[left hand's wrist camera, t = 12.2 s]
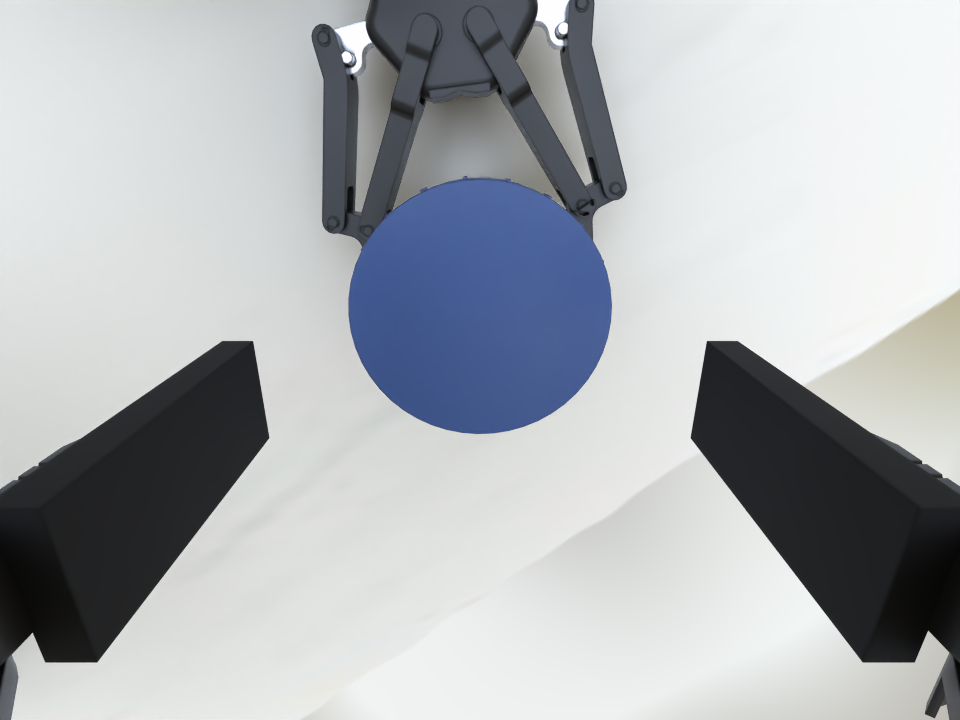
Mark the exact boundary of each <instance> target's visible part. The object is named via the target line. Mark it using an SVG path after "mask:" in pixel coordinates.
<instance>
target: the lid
mask: <svg viewBox="0 0 960 720" xmlns="http://www.w3.org/2000/svg"><path fill="white" fill-rule="evenodd" d="M510 181H511V180H510V179H508V178H506V180H501V179H493V178H467V176H464V177H463V179H460V180H455V181H449V182H446V183H443V184H440V185H437V186H434V187H432V188H430V189H428V188H427V187H426V188H424V189H422V190H420V191H421V193H420V194H418V195H416V196H414V197H412V198H410V199H409V200H407V201H406V202H404V203H403V204H402V205H400V206H399V207H397V208H396V209H395V210H393V211H391V212H390V213H388V214H386V215H385V216H386V218H385V219H384V220H383V221H382V222H381V223H380V225H379V226H378V227H377V228H376V229H375V231H374V232H373V233H372V234H371V236H370V238H369V239H368V241H367V242H366V244H365V246H364V247H363V248H362V249H361V253H360V256H359V258H358V260H357V263H356V265H355V268H354V272H353V276H352V279H351V284H350V292H349V321H350V329H351V334H352V337H353V341H354V344H355V348H356V350H357V353H358V355H359V357H360V360H361V362H362V364H363V365H364V367H365V369H366V371H367V372H368V374H369V376H370V377H371V378H372V380H373V381H374V382H375V384H376V385H377V386H378V387H379V389H380V390H381V391H382V392H383V393H384V394H385V395H386V396H387V397H388V398H389V399H390V400H391V401H392V402H394V403H395V404H396V405H398V406H399V407H400V408H401V409H403V410H404V411H406V412H407V413H409V414H411V415H412V416H414V417H416V418H417V419H420V420H422V421H424V422H426V423H428V424H431V425H433V426H436V427H440V428H443V429H446V430H451V431H456V432H461V433H473V434H487V433H498V432H504V431H510V430H514V429H517V428H521V427H524V426H527V425H529V424H532V423H534V422H536V421H539V420H541V419H542V418H544V417H546V416H548V415H550V414H551V413H553V412H554V411H556V410H557V409H559V408H560V407H561V406H563V405H564V404H565V403H566V402H568V401H569V400H570V399H571V398H572V397H573V396H574V395H575V394H576V393H577V392H578V391H579V390H580V388H581V387H582V386H583V385H584V384H585V383H586V381H587V380H588V378H589V377H590V375H591V374H592V372H593V371H594V369H595V368H596V366H597V364H598V362H599V360H600V357H601V355H602V353H603V351H604V347H605V344H606V341H607V338H608V334H609V329H610V323H611V310H612V301H611V290H610V284H609V279H608V275H607V271H606V268H605V265H604V261H603V259H602V258H601V255H600V253H599V251H598V249H597V247H596V246H595V244H594V242H593V240H592V239H591V237H590V236H589V235H588V233H587V232H586V231H585V229H584V228H583V226H584V225H583V224H582V223H580V222H578V221H577V220H576V219H575V218H574V217H573V216H572V215H571V214H570V213H569V212H568V211H566V210H565V209H564V208H563V207H561V206H560V205H559V204H557V203H556V202H555V201H553V200H551V196H549V195H547V194H545V193H544V195H542V194H541V193H539V192H537V191H535V190H533V189H530V188H528V187H525V186H523V185H520V184H518V183H514V182H510Z"/></svg>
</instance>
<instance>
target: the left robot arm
mask: <svg viewBox="0 0 960 720" xmlns="http://www.w3.org/2000/svg"><path fill="white" fill-rule="evenodd" d="M268 439H269V433H268V427H267V421H266V415H265V409H264V403H263V397H262V392H261V386H260V380H259V374H258V368H257V362H256V356H255V350H254V344H253V341H222V342H220V343H219V344H218V345H216V346H215V347H213V348H212V349H210V350H209V351H207V352H206V353H204V354H203V355H202V356H200V357H199V358H197V359H196V360H194V361H193V362H191V363H190V364H189V365H187V366H186V367H184V368H183V369H181V370H180V371H178V372H177V373H175V374H174V375H173V376H171V377H170V378H168V379H167V380H165V381H164V382H162V383H161V384H160V385H158V386H157V387H155V388H154V389H152V390H151V391H149V392H148V393H146V394H145V395H144V396H142V397H141V398H139V399H138V400H136V401H135V402H133V403H132V404H131V405H129V406H128V407H126V408H125V409H123V410H122V411H120V412H119V413H117V414H116V415H115V416H113V417H112V418H110V419H109V420H107V421H106V422H104V423H103V424H101V425H100V426H99V427H97V428H96V429H94V430H93V431H91V432H90V433H88V434H87V435H86V436H84V437H83V438H81V439H79V440H77V441H75V442H72V443H70V444H68V445H66V446H63V447H62V448H60V449H59V450H57V451H56V452H54V453H53V454H51V455H50V456H48V457H47V458H45V459H44V460H42V461H41V462H40V463H39V465H38V466H34V467H32V468H31V469H29V470H28V471H26V472H25V473H23V474H22V475H20V476H19V477H18V478H19V479H18V480H13V481H12V482H10V483H9V484H7V485H6V486H4V487H3V488H1V489H0V720H11V716H12V710H13V705H14V699H15V694H16V688H17V682H18V672H17V666H16V664H15V662H14V660H13V657H12V654H13V652H14V651H15V650H16V649H17V648H18V647H19V646H20V645H21V644H22V643H23V642H24V641H25V640H26V639H27V638H28V637H29V636H30V635H31V634H32V633H33V634H34V637H35V639H36V641H37V644H38V646H39V648H40V651H41V653H42V655H43V658H44V660H45V662H98V661H99V659H100V658H101V657H102V655H103V654H104V653H105V651H106V650H107V649H108V648H109V646H110V645H111V644H112V642H113V641H114V640H115V638H116V637H117V636H118V635H119V633H120V632H121V631H122V629H123V628H124V627H125V625H126V624H127V623H128V621H129V620H130V619H131V618H132V616H133V615H134V614H135V612H136V611H137V610H138V608H139V607H140V606H141V605H142V603H143V602H144V601H145V599H146V598H147V597H148V595H149V594H150V593H151V592H152V590H153V589H154V588H155V586H156V585H157V584H158V582H159V581H160V580H161V578H162V577H163V576H164V575H165V573H166V572H167V571H168V569H169V568H170V567H171V565H172V564H173V563H174V562H175V560H176V559H177V558H178V556H179V555H180V554H181V552H182V551H183V550H184V549H185V547H186V546H187V545H188V543H189V542H190V541H191V539H192V538H193V537H194V536H195V534H196V533H197V532H198V530H199V529H200V528H201V526H202V525H203V524H204V522H205V521H206V520H207V519H208V517H209V516H210V515H211V513H212V512H213V511H214V509H215V508H216V507H217V506H218V504H219V503H220V502H221V500H222V499H223V498H224V496H225V495H226V494H227V493H228V491H229V490H230V489H231V487H232V486H233V485H234V483H235V482H236V481H237V479H238V478H239V477H240V476H241V474H242V473H243V472H244V470H245V469H246V468H247V466H248V465H249V464H250V463H251V461H252V460H253V459H254V457H255V456H256V455H257V453H258V452H259V451H260V450H261V448H262V447H263V446H264V444H265V443H266V442H267V440H268ZM691 439H692V440H693V442H694V443H695V444H696V446H697V447H698V448H699V450H700V451H701V452H702V453H703V455H704V456H705V457H706V459H707V460H708V461H709V463H710V464H711V465H712V466H713V468H714V469H715V470H716V472H717V473H718V474H719V476H720V477H721V478H722V479H723V481H724V482H725V483H726V485H727V486H728V487H729V489H730V490H731V491H732V493H733V494H734V495H735V496H736V498H737V499H738V500H739V502H740V503H741V504H742V505H743V507H744V508H745V509H746V511H747V512H748V513H749V515H750V516H751V517H752V519H753V520H754V521H755V522H756V524H757V525H758V526H759V528H760V529H761V530H762V532H763V533H764V534H765V535H766V537H767V538H768V539H769V541H770V542H771V543H772V545H773V546H774V547H775V548H776V550H777V551H778V552H779V554H780V555H781V556H782V558H783V559H784V560H785V562H786V563H787V564H788V565H789V567H790V568H791V569H792V571H793V572H794V573H795V575H796V576H797V577H798V579H799V580H800V581H801V582H802V584H803V585H804V586H805V588H806V589H807V590H808V592H809V593H810V594H811V595H812V597H813V598H814V599H815V601H816V602H817V603H818V604H819V606H820V607H821V608H822V610H823V611H824V612H825V614H826V615H827V616H828V617H829V619H830V620H831V621H832V623H833V624H834V625H835V627H836V628H837V629H838V631H839V632H840V633H841V635H842V636H843V637H844V638H845V640H846V641H847V642H848V644H849V645H850V646H851V648H852V649H853V650H854V651H855V653H856V654H857V655H858V657H859V658H860V659H861V661H862V662H915V660H916V658H917V655H918V653H919V651H920V648H921V646H922V644H923V641H924V639H925V636H926V634H927V632H928V631H929V632H930V633H931V634H932V635H933V636H934V637H935V638H936V639H937V640H938V641H939V642H940V643H941V644H942V645H943V646H944V647H945V648H946V649H947V650H948V651H949V652H950V653H949V655H948V657H947V660H946V662H945V664H944V666H943V668H942V671H941V673H940V675H939V677H938V680H937V682H936V684H935V686H934V688H933V691H932V693H931V695H930V697H929V699H928V702H927V705H926V711H925V714H926V715H928V716H931V717H933V718H935V717H936V715H937V712H938V710H939V708H940V706H943V705H946V704H947V709H948V714H949V720H960V486H958V485H957V484H955V483H954V482H952V481H951V480H949V479H948V478H943V477H942V474H941V473H939V472H937V471H936V470H935V469H933V468H932V467H930V466H929V465H927V464H922V461H921V460H920V459H918V458H917V457H915V456H914V455H912V454H911V453H909V452H908V451H906V450H905V449H903V448H902V447H900V446H899V445H897V444H895V443H893V442H890V441H888V440H886V439H884V438H881V437H879V436H877V435H875V434H872V433H870V432H869V431H867V430H866V429H864V428H863V427H861V426H860V425H859V424H857V423H856V422H854V421H853V420H851V419H850V418H848V417H847V416H845V415H844V414H843V413H841V412H840V411H838V410H837V409H835V408H834V407H832V406H831V405H829V404H828V403H827V402H825V401H824V400H822V399H821V398H819V397H818V396H816V395H815V394H814V393H812V392H811V391H809V390H808V389H806V388H805V387H803V386H802V385H800V384H799V383H798V382H796V381H795V380H793V379H792V378H790V377H789V376H787V375H786V374H785V373H783V372H782V371H780V370H779V369H777V368H776V367H774V366H773V365H771V364H770V363H769V362H767V361H766V360H764V359H763V358H761V357H760V356H758V355H757V354H756V353H754V352H753V351H751V350H750V349H748V348H747V347H745V346H744V345H742V344H741V343H740V342H738V341H707V344H706V350H705V356H704V362H703V368H702V374H701V380H700V386H699V392H698V397H697V403H696V409H695V415H694V421H693V427H692V433H691Z"/></svg>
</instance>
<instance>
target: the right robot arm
mask: <svg viewBox="0 0 960 720" xmlns="http://www.w3.org/2000/svg"><path fill="white" fill-rule="evenodd" d="M593 16H594V0H370V3H369V8H368V11H367V14H366V20H365V21H361V22H358V23H354V24H351V25H347V26H343V27H340V28H336V29H332V28H331V27H330V26H328V25H326V24H319V25H317V26H316V27H315V28H314V30H313V32H312V42H313V45H314V49H315V52H316V55H317V59H318V62H319V65H320V69H321V72H322V75H323V79H324V107H323V200H322V222H323V226H324V228H325V230H327V231H328V232H330V233H333V234H335V233H339V234H344V235H348V236H352V237H354V238H356V239H357V240H358V241H359V242H360V243H361V245H362V248H363V247H364V246H365V244H366V242H367V241H368V239H369V238H370V236H371V234H372V233H373V232H374V231H375V229H376V228H377V227H378V226H379V225H380V223H381V222H382V221H383V220H384V219H385V218H386V216H385V215H386V214H388V213H390V212H391V211H392V209H393V206H394V202H395V199H396V196H397V193H398V189H399V186H400V183H401V179H402V176H403V173H404V169H405V166H406V163H407V160H408V156H409V153H410V150H411V146H412V143H413V140H414V137H415V133H416V130H417V127H418V124H419V121H420V119H421V117H422V114H423V111H424V108H425V104H426V101H427V100H428V101H432V102H433V103H439V102H446V101H449V100H451V99H454V98H456V97H458V96H461V95H463V96H469V97H475V98H477V97H485V96H490V94H491V93H493V92H495V91H496V92H497V93H498V95H499V97H500V98H501V100H502V102H503V104H504V105H505V107H506V108H507V109H508V111H509V112H510V114H511V116H512V117H513V119H514V121H515V122H516V124H517V126H518V127H519V129H520V131H521V133H522V134H523V136H524V138H525V139H526V141H527V143H528V144H529V146H530V148H531V150H532V151H533V153H534V155H535V156H536V158H537V160H538V162H539V163H540V165H541V167H542V168H543V170H544V172H545V173H546V175H547V177H548V179H549V180H550V182H551V184H552V185H553V187H554V189H555V191H556V192H557V194H558V196H559V197H560V199H561V201H562V202H563V204H564V206H565V208H566V211H568V212H569V213H570V214H571V215H572V216H573V217H574V218H575V219H576V220H577V221H578V222H580V223H582V224H583V225H584V226H583V228H584V229H585V231H586V232H587V233H588V235H589V236H590V237H591V239H592V240H593V227H592V219H593V215H594V213H595V211H596V210H597V209H598V208H600V207H601V206H603V205H605V204H607V203H609V202H611V201H613V200H618V199H620V198H622V197H623V196H624V194H625V193H626V190H627V184H626V180H625V176H624V172H623V168H622V164H621V160H620V156H619V152H618V148H617V144H616V140H615V136H614V132H613V128H612V124H611V120H610V116H609V112H608V108H607V104H606V100H605V96H604V92H603V88H602V84H601V80H600V76H599V72H598V68H597V64H596V60H595V56H594V52H593V48H592V31H593ZM534 25H536V26H539V27H541V28H542V29H543V30H544V31H545V33H546V36H547V41H548V43H549V45H550V46H551V47H552V48H553V49H557V50H560V56H561V64H562V69H563V73H564V77H565V81H566V85H567V88H568V92H569V96H570V99H571V103H572V107H573V110H574V114H575V118H576V121H577V125H578V129H579V133H580V136H581V140H582V144H583V147H584V151H585V155H586V158H587V162H588V166H589V169H590V173H591V177H592V181H593V182H592V183H590V184H588V185H586V186H585V185H584V183H583V182H582V180H581V178H580V176H579V175H578V173H577V171H576V169H575V167H574V166H573V164H572V162H571V160H570V159H569V157H568V155H567V153H566V152H565V150H564V148H563V146H562V144H561V143H560V141H559V139H558V137H557V136H556V134H555V132H554V130H553V129H552V127H551V125H550V123H549V121H548V120H547V118H546V116H545V114H544V113H543V111H542V109H541V107H540V106H539V104H538V102H537V100H536V98H535V97H534V95H533V93H532V91H531V88H530V86H529V83H528V81H527V80H526V78H525V76H524V74H523V72H522V71H521V69H520V67H519V65H518V64H517V62H516V59H517V57H518V55H519V53H520V51H521V49H522V47H523V45H524V43H525V41H526V39H527V37H528V36H529V34H530V32H531V30H532V28H533V26H534ZM373 47H376V48H377V49H378V50H379V52H380V53H381V54H382V55H383V56H384V57H385V58H386V60H387V61H388V62H389V63H390V64H391V65H392V67H393V68H394V69H395V70H396V71H397V72H398V74H399V76H398V79H397V83H396V86H395V90H394V94H393V97H392V102H391V111H390V115H389V118H388V122H387V125H386V129H385V132H384V136H383V139H382V143H381V146H380V150H379V153H378V157H377V160H376V164H375V167H374V171H373V174H372V178H371V182H370V185H369V189H368V192H367V196H366V199H365V203H364V206H363V210H362V213H360V212H356V211H355V191H356V160H357V129H358V84H357V78H356V76H359V75H361V74H362V73H363V72H364V70H365V67H366V54H367V52H368V51H369V50H370V49H371V48H373Z"/></svg>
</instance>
